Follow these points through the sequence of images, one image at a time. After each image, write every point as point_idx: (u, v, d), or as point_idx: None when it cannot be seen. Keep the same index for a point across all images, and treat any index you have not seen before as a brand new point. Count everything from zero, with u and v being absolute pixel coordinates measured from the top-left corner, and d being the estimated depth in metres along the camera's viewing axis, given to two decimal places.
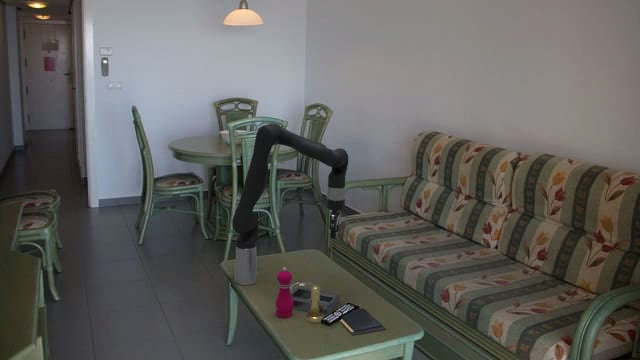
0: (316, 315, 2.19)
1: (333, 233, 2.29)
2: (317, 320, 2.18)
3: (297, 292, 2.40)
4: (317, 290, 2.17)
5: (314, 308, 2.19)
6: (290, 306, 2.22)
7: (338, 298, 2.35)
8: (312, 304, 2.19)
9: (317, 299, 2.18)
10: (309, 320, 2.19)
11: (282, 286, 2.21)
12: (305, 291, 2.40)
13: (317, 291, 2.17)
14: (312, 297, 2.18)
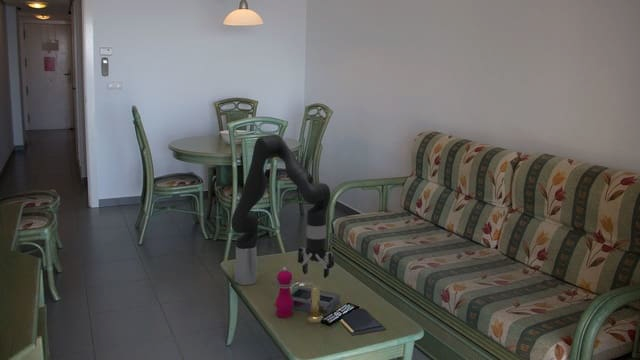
0: (316, 315, 2.19)
1: (328, 271, 2.15)
2: (317, 320, 2.18)
3: (297, 292, 2.40)
4: (317, 290, 2.17)
5: (314, 308, 2.19)
6: (290, 306, 2.22)
7: (338, 298, 2.35)
8: (312, 304, 2.19)
9: (317, 299, 2.18)
10: (309, 320, 2.19)
11: (282, 286, 2.21)
12: (305, 291, 2.40)
13: (317, 291, 2.17)
14: (312, 297, 2.18)
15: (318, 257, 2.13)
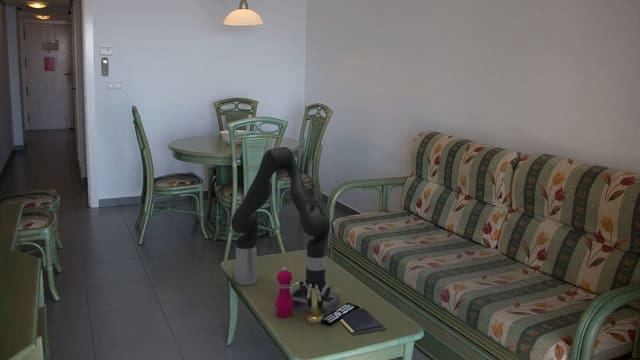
0: (316, 315, 2.19)
1: (322, 303, 2.19)
2: (317, 320, 2.18)
3: (297, 292, 2.40)
4: None
5: (314, 308, 2.19)
6: (290, 306, 2.22)
7: (338, 298, 2.35)
8: (312, 304, 2.19)
9: (317, 299, 2.18)
10: (309, 320, 2.19)
11: (282, 286, 2.21)
12: None
13: None
14: (312, 297, 2.18)
15: (317, 288, 2.16)
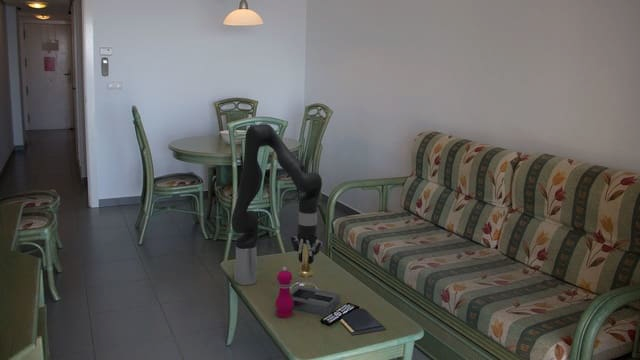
0: (307, 270, 2.26)
1: (313, 258, 2.26)
2: (307, 274, 2.25)
3: (297, 292, 2.40)
4: None
5: (305, 263, 2.25)
6: (290, 306, 2.22)
7: (338, 298, 2.35)
8: (303, 259, 2.25)
9: (308, 254, 2.25)
10: (300, 274, 2.26)
11: (282, 286, 2.21)
12: (305, 291, 2.40)
13: None
14: (303, 252, 2.25)
15: (308, 243, 2.23)
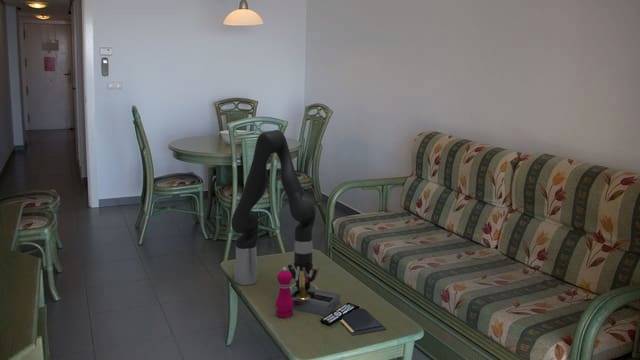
0: (304, 296, 2.34)
1: (309, 285, 2.34)
2: None
3: (297, 292, 2.40)
4: None
5: (302, 290, 2.33)
6: (290, 306, 2.22)
7: (338, 298, 2.35)
8: (300, 286, 2.33)
9: (305, 281, 2.33)
10: None
11: (282, 286, 2.21)
12: None
13: None
14: (300, 279, 2.33)
15: (304, 270, 2.31)
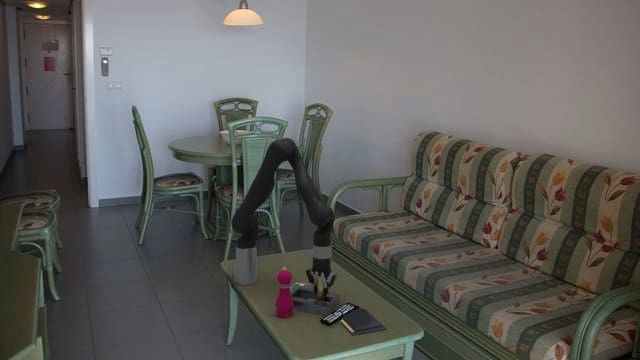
0: None
1: (328, 290, 2.31)
2: None
3: (297, 292, 2.40)
4: None
5: (320, 295, 2.30)
6: (290, 306, 2.22)
7: (338, 298, 2.35)
8: (318, 291, 2.30)
9: (323, 286, 2.30)
10: None
11: (282, 286, 2.21)
12: (305, 291, 2.40)
13: None
14: (318, 284, 2.30)
15: (323, 276, 2.28)
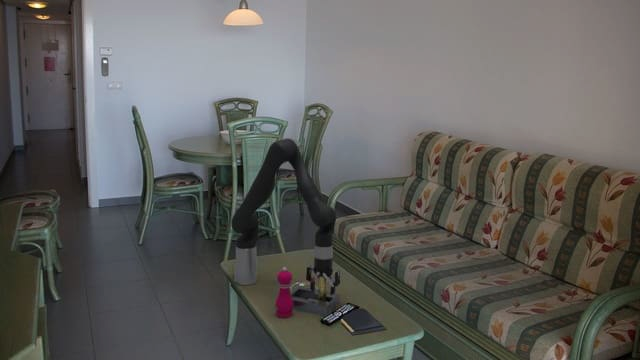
0: None
1: (334, 289, 2.29)
2: None
3: (297, 292, 2.40)
4: (324, 278, 2.29)
5: (321, 296, 2.30)
6: (290, 306, 2.22)
7: (338, 298, 2.35)
8: (319, 292, 2.30)
9: (324, 287, 2.30)
10: None
11: (282, 286, 2.21)
12: (305, 291, 2.40)
13: (324, 279, 2.29)
14: (320, 285, 2.30)
15: (325, 276, 2.27)
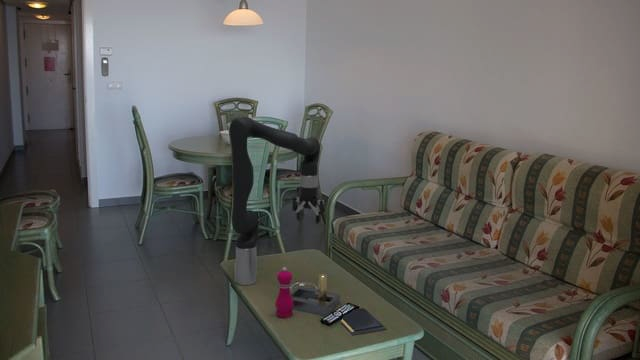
0: None
1: None
2: None
3: (297, 292, 2.40)
4: (324, 278, 2.29)
5: (321, 296, 2.30)
6: (290, 306, 2.22)
7: (338, 298, 2.35)
8: (319, 292, 2.30)
9: (324, 287, 2.30)
10: None
11: (282, 286, 2.21)
12: (305, 291, 2.40)
13: (324, 279, 2.29)
14: (320, 285, 2.30)
15: (310, 204, 2.36)
